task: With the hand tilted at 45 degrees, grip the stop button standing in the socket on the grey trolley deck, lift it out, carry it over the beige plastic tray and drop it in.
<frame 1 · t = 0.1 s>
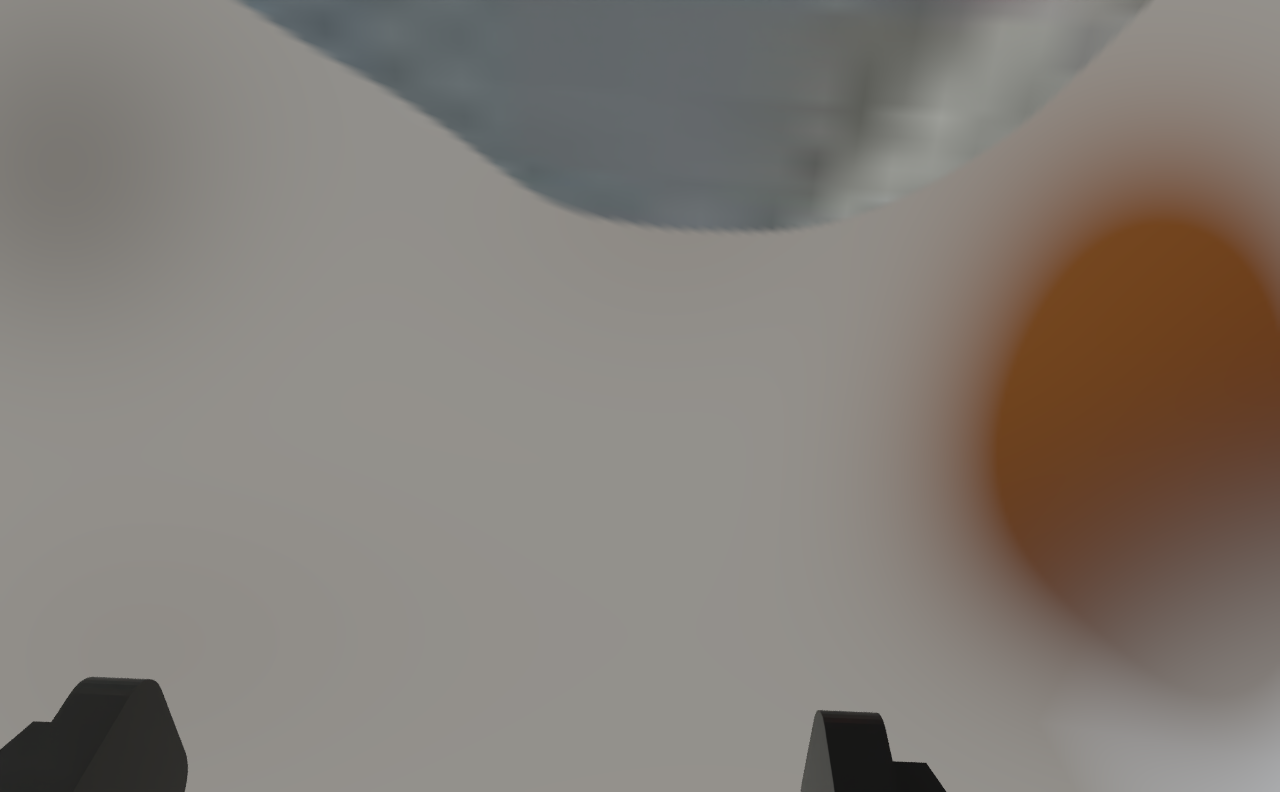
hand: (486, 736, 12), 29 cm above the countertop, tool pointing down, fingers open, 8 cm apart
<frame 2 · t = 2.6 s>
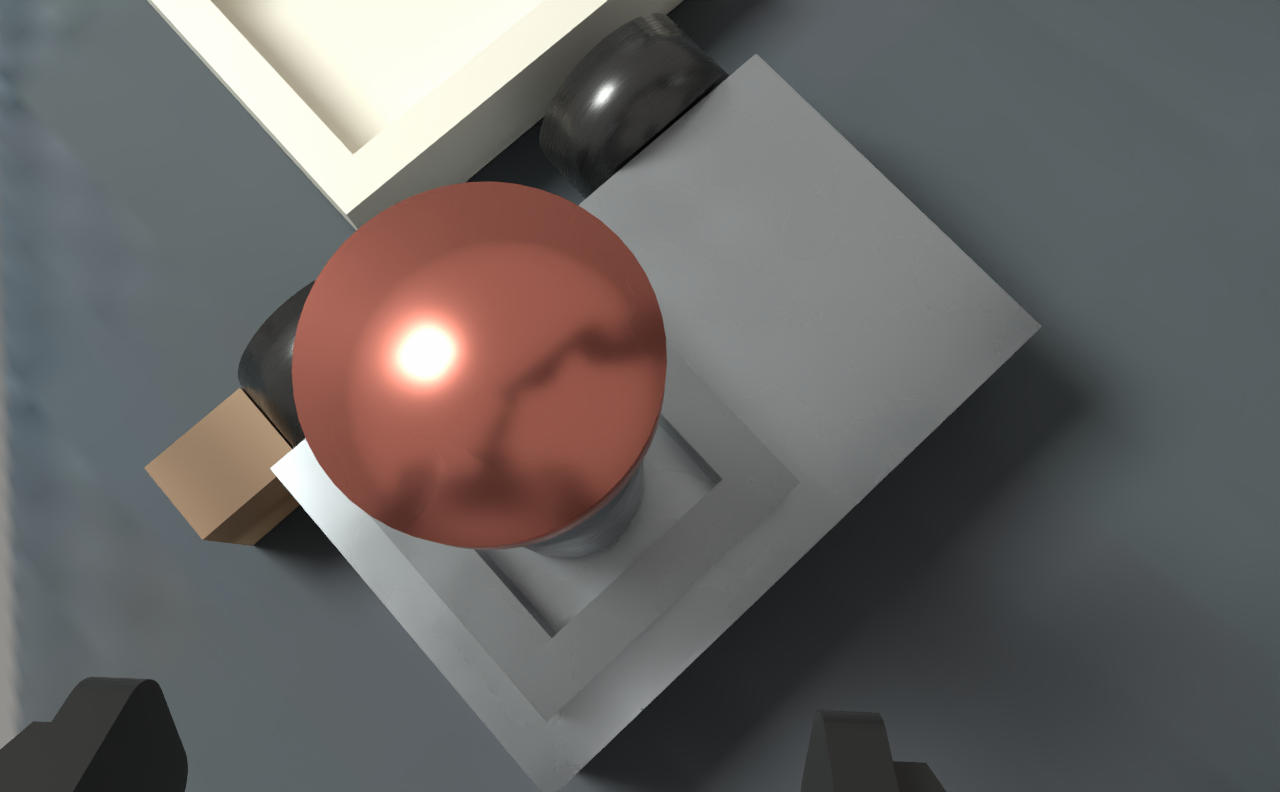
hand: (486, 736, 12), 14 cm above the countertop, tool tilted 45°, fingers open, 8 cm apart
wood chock: (268, 477, 26), on the countertop
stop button: (567, 480, 22), point 4 cm above the countertop, touching trolley
trolley: (658, 425, 27), on the countertop
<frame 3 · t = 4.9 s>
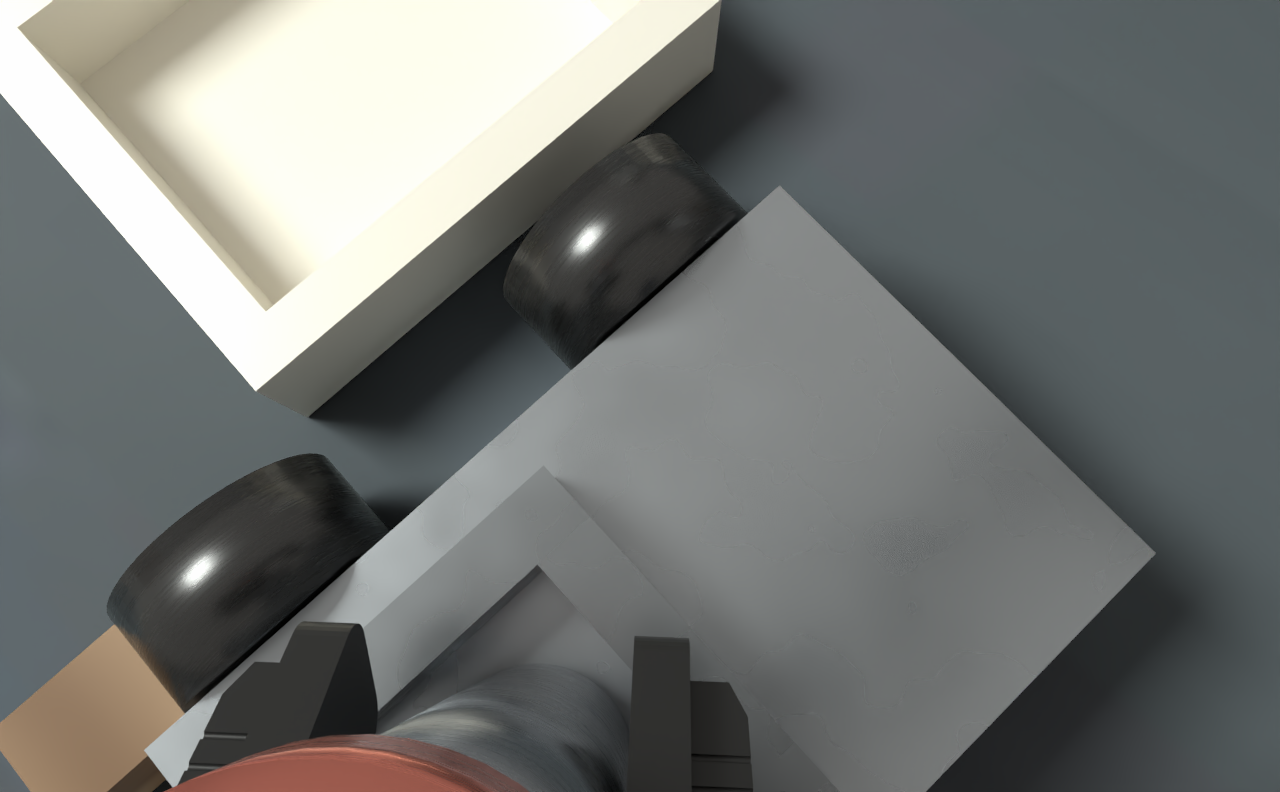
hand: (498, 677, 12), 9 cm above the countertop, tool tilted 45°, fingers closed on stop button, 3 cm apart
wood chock: (166, 707, 21), on the countertop
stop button: (535, 767, 17), point 4 cm above the countertop, touching gripper, trolley
tray: (370, 82, 24), on the countertop
trolley: (656, 639, 21), on the countertop
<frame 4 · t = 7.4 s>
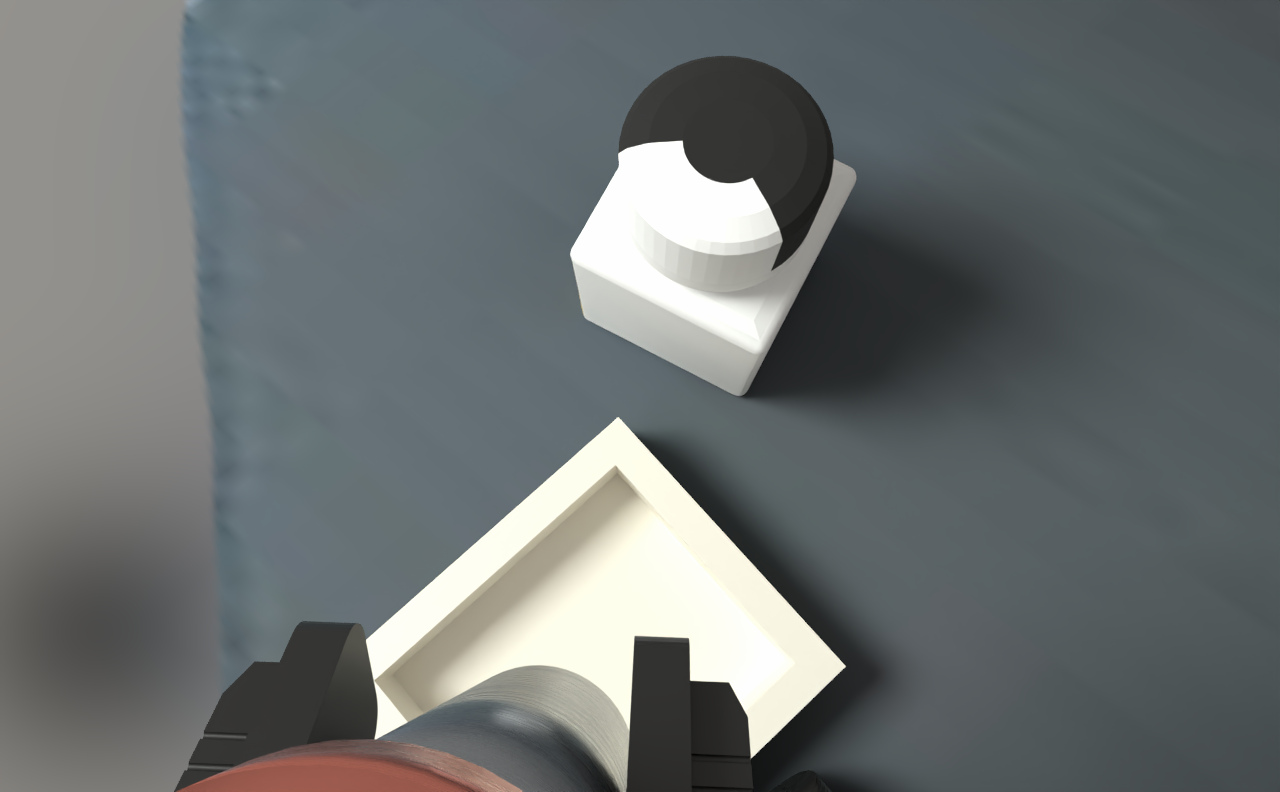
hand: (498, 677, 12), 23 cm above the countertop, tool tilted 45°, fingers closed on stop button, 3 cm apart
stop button: (535, 769, 17), point 18 cm above the countertop, touching gripper
tray: (589, 665, 35), on the countertop
medicine bottle: (701, 283, 38), on the countertop
when the fingers open (8 cm above the countertop, at t = 10.1 s): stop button drops 2 cm, resting on tray.
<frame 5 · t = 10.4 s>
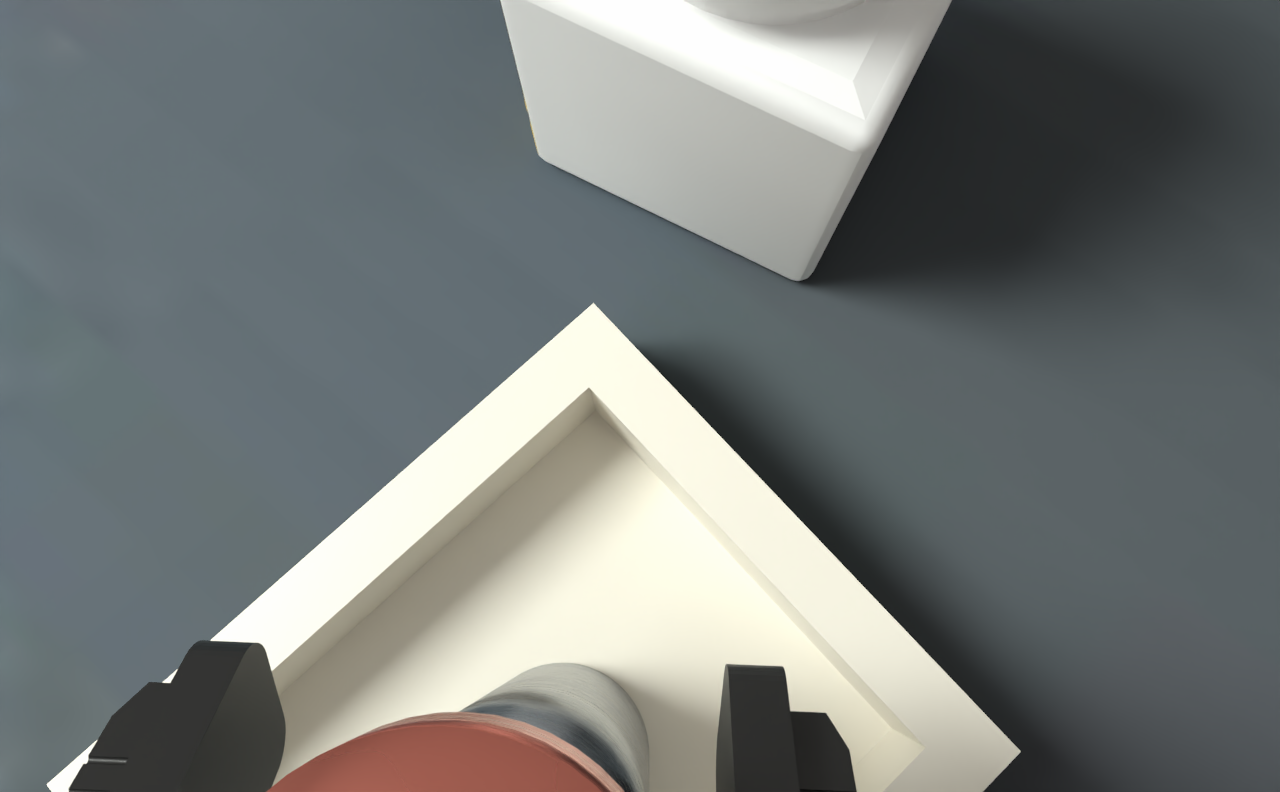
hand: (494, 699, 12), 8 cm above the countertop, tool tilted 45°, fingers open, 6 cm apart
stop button: (560, 754, 19), point 1 cm above the countertop, touching tray
tray: (550, 742, 20), on the countertop
medicine bottle: (732, 105, 23), on the countertop
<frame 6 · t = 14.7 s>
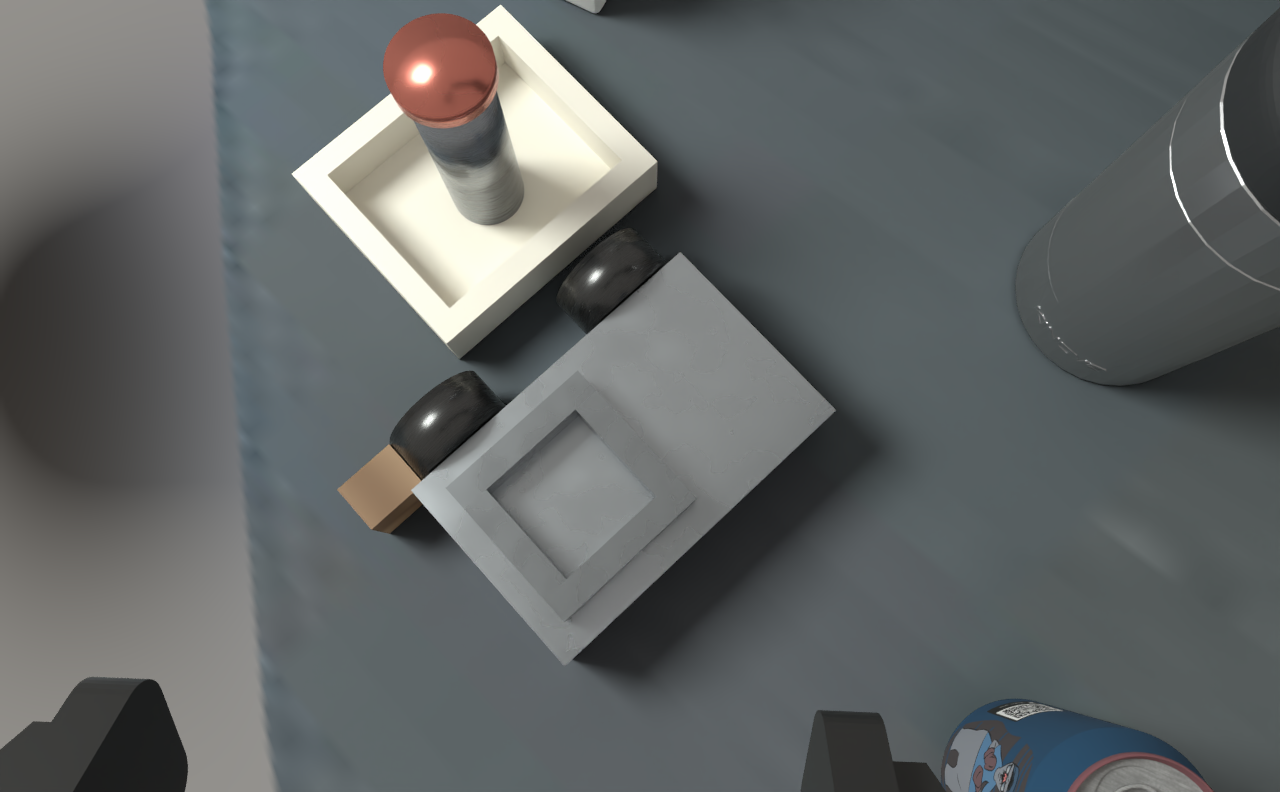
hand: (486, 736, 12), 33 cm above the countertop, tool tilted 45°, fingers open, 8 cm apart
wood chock: (397, 493, 45), on the countertop
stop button: (488, 191, 47), point 1 cm above the countertop, touching tray
tray: (485, 193, 48), on the countertop
soda can: (1008, 775, 42), on the countertop
trolley: (626, 462, 45), on the countertop
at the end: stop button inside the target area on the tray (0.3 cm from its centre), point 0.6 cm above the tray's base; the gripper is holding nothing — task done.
